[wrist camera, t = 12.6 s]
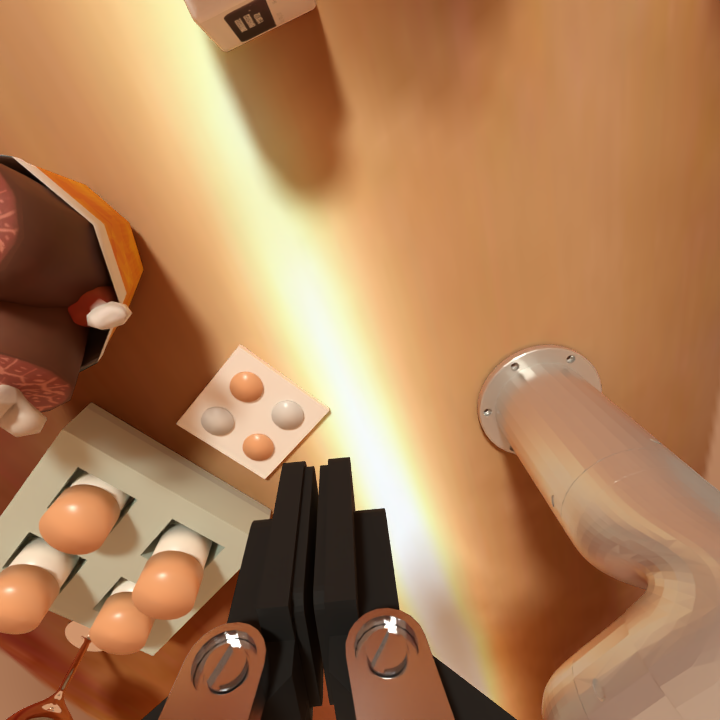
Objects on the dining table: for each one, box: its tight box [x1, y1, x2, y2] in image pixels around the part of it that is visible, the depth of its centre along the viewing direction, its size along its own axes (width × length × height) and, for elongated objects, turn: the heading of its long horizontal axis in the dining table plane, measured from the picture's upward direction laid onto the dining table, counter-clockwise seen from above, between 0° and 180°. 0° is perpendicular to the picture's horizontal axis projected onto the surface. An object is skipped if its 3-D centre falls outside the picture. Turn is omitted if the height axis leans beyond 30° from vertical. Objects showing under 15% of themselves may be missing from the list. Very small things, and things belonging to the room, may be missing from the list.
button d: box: [0, 536, 79, 634], centre depth 44 cm, size 6×6×7 cm
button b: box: [39, 471, 130, 555], centre depth 43 cm, size 6×6×7 cm
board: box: [0, 402, 271, 656], centre depth 48 cm, size 22×22×5 cm
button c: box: [89, 577, 155, 655], centre depth 48 cm, size 6×6×7 cm
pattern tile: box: [176, 344, 329, 479], centre depth 45 cm, size 11×11×1 cm
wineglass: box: [6, 621, 103, 720], centre depth 49 cm, size 8×8×18 cm
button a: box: [132, 522, 212, 620], centre depth 44 cm, size 6×6×7 cm
